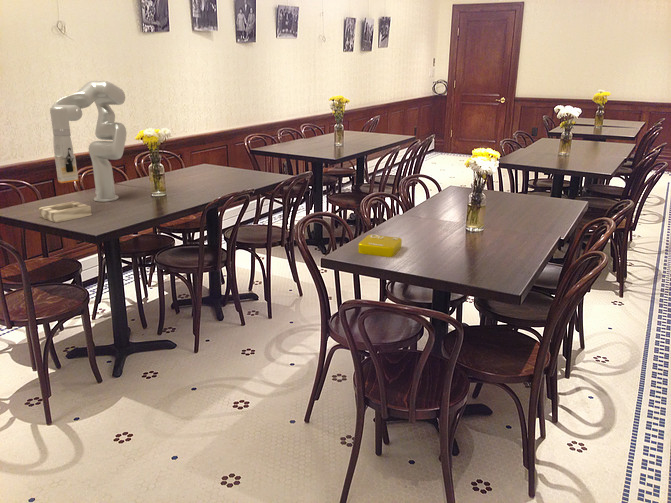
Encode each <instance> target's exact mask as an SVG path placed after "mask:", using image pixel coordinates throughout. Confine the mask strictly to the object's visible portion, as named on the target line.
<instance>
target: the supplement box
mask: <svg viewBox="0 0 671 503" xmlns="http://www.w3.org/2000/svg"><path fill="white" fill-rule="evenodd" d="M53 156H54V162H55V167H56V168H55V169H56V170H55V171H56V175H57V176H56V177H57V182H58V183H60V184H64V183H65V184H67V183H73V182H79V175H78V168H77V160H76V154H74V153H73V156H74V159H73V163H72V164H73V172H66V161H65V158H62V157H61V156H59V155H55V154H54V155H53ZM67 157H70V156H67ZM67 160H68V159H67Z"/></svg>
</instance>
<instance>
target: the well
mask: <svg viewBox="0 0 671 503" xmlns="http://www.w3.org/2000/svg"><path fill="white" fill-rule="evenodd" d="M38 212H39V217H40V218H42V219H45V220H48V221H50V222H53V223H62V222H67V221H70V220H75V219H79V218H85V217H89V216H92V215H93V214H92V207H91V205H88V204H85V203H83V202H78V201H75V200H73V201H68V202H63V203H58V204H52V205H47V206H46V205H45V206H42V207H41V206H40V207H39V208H38Z"/></svg>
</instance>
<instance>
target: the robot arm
mask: <svg viewBox="0 0 671 503" xmlns="http://www.w3.org/2000/svg"><path fill="white" fill-rule="evenodd" d="M125 101H126V94H125V92H124V90H123V89H122V88H120V87H119V86H117V85H116V84H114V83H113V82H110V81H107V80H89V81H87V82H86V83H85V84H84V85H82V87H80V88H79V90H77V91H76V92H74V93H71V94H68V95H66V96H63V97H61V98H59V99H58V100H56V102H54V103H53V104H52V105H51V107H50V109H49V115H50V121H51V128H52V134H53V137H52V138H53V152H54V155H59V156H61V157H62V158H65V161H66V172H73V164H72V163H73V159H74V156H73V154H74V147H73V143H72V138H71V128H70V127H71V126H70V122H77V121H79V120H80V119H81V118H82V116H83V111H82V109H85V108H88V107H91V105H92V104H93V103H95V106H96V109H97V111H98V115H97V120H96V125H95V131H94V134H95V137H96V139H99V140H95V141H92V142H90V143H89V145H88V153H89V157H90V160H91V165H92V170H93V171H92V172H93V178H94V186H95V191H94V194H96V196H94V197H93V200H94V201H95V202H97V203H99V202H100V203H103V202H104V203H105V202H107V203H108V202H114V201H117V200H118V199H120V198H119V196H118V195H117V194H116V190H115V182H114V173H113V167H112V166H113V165H112V164H111V162H110V161H109V160H120V159H122V157H123V154H124V151H125V146H126V140H127V128H126V126H125V124H123V123H122V122H117V121H115V120H116V114H115V111H114V110H113V108H112V107H111V105H112V106H119V105H123V104H124V103H125ZM67 156H70V157H67ZM67 159H68V160H67Z"/></svg>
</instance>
